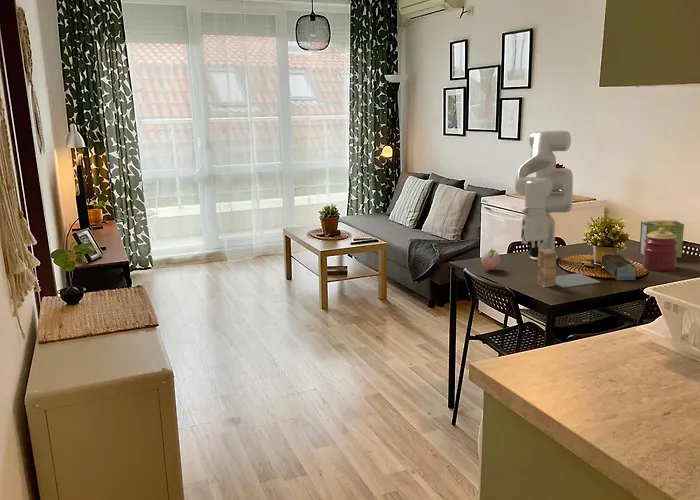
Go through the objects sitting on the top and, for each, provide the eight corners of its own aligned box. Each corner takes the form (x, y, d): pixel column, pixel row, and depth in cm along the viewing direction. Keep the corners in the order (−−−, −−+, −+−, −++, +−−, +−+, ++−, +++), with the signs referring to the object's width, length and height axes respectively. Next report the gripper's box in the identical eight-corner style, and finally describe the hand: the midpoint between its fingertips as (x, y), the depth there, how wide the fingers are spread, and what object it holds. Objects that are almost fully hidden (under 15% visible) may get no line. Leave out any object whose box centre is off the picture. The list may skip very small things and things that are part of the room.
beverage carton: (615, 280, 240) (616, 265, 239) (600, 268, 259) (601, 253, 258) (636, 280, 240) (637, 264, 238) (619, 267, 258) (619, 253, 257)
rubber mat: (542, 279, 247) (543, 278, 247) (579, 274, 251) (579, 273, 251) (563, 288, 234) (563, 287, 234) (600, 282, 238) (600, 281, 238)
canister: (677, 272, 246) (680, 231, 242) (642, 270, 251) (645, 230, 247) (675, 264, 257) (678, 225, 253) (642, 262, 263) (644, 224, 259)
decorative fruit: (481, 267, 269) (481, 246, 267) (500, 267, 267) (500, 246, 265) (480, 273, 260) (480, 251, 258) (500, 273, 258) (500, 251, 256)
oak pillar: (537, 283, 242) (538, 250, 238) (548, 282, 243) (549, 249, 240) (544, 286, 237) (545, 253, 234) (555, 285, 238) (556, 251, 235)
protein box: (682, 257, 267) (684, 224, 264) (645, 258, 270) (648, 225, 266) (673, 252, 277) (676, 219, 274) (638, 252, 280) (640, 220, 276)
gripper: (523, 215, 226) (522, 261, 230) (557, 211, 229) (555, 256, 234) (512, 212, 233) (512, 256, 237) (546, 208, 236) (545, 252, 241)
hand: (533, 256), depth 236 cm, fingers closed
